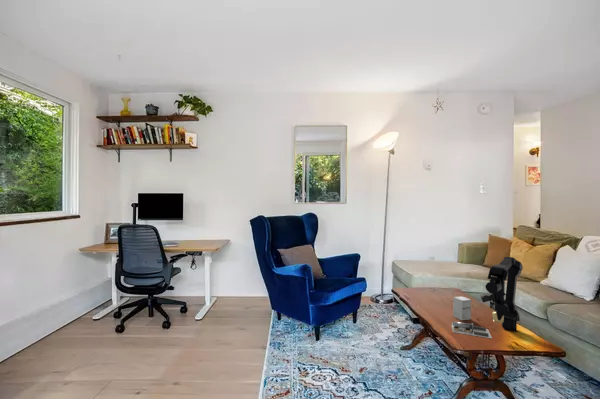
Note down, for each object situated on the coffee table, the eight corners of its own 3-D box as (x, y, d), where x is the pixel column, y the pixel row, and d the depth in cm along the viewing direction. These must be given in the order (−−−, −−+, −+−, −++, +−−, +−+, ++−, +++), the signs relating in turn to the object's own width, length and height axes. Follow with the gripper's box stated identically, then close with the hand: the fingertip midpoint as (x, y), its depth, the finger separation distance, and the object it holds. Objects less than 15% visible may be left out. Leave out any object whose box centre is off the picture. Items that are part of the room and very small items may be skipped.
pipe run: (487, 329, 175) (488, 322, 175) (492, 338, 164) (492, 330, 164) (451, 324, 183) (451, 316, 183) (452, 332, 172) (453, 324, 172)
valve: (502, 320, 166) (502, 309, 166) (504, 323, 161) (504, 312, 161) (491, 318, 168) (491, 308, 168) (493, 321, 163) (493, 311, 163)
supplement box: (461, 320, 188) (462, 300, 188) (452, 316, 195) (453, 296, 195) (471, 319, 190) (471, 299, 190) (462, 315, 197) (462, 295, 197)
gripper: (478, 283, 176) (478, 310, 176) (484, 292, 159) (483, 322, 159) (501, 286, 172) (500, 313, 172) (509, 295, 155) (508, 326, 155)
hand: (497, 318), depth 165 cm, fingers closed on valve, 5 cm apart
